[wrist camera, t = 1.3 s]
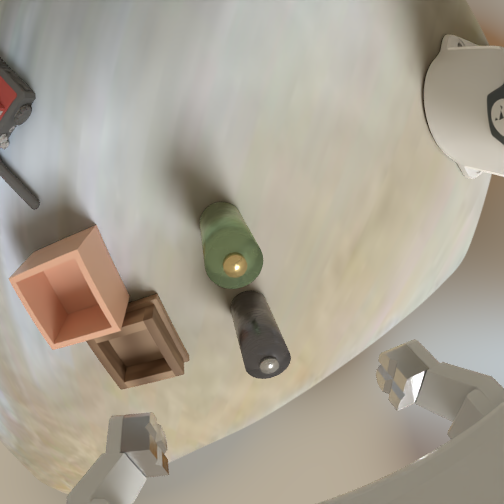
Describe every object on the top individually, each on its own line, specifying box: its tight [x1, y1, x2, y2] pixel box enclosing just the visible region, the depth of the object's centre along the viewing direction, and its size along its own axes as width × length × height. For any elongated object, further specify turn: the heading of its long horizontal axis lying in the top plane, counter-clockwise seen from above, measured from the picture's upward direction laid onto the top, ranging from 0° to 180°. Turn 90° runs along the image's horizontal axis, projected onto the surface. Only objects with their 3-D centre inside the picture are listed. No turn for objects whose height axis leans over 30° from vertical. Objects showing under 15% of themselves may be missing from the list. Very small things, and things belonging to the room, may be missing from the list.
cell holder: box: [86, 294, 189, 389], centre depth 31 cm, size 9×9×4 cm
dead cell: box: [231, 291, 291, 379], centre depth 30 cm, size 4×4×10 cm
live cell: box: [200, 202, 263, 289], centre depth 25 cm, size 4×4×10 cm
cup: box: [9, 225, 130, 350], centre depth 26 cm, size 8×8×6 cm
